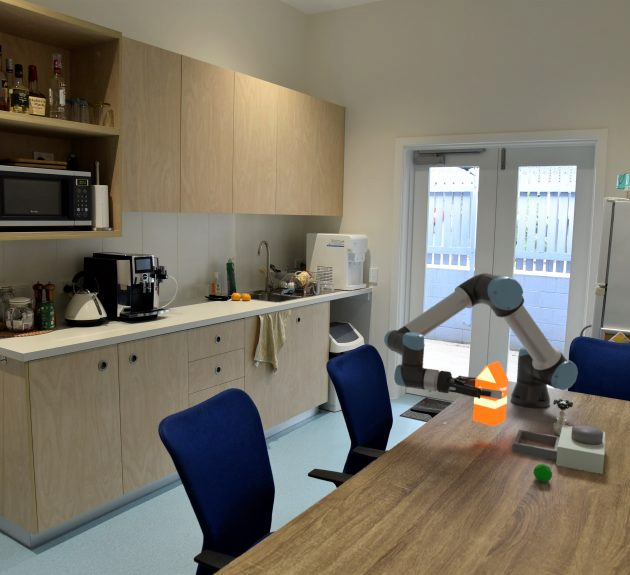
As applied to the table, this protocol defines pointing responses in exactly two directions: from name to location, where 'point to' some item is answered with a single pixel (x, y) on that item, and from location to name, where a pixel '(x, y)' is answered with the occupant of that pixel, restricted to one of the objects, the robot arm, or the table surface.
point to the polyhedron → (542, 473)
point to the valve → (561, 414)
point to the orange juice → (486, 407)
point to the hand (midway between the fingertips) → (504, 390)
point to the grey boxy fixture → (567, 447)
